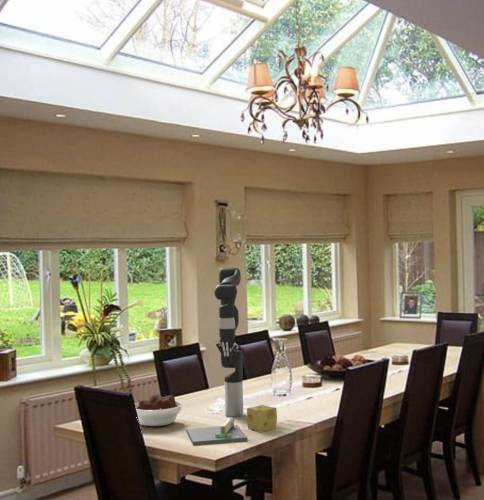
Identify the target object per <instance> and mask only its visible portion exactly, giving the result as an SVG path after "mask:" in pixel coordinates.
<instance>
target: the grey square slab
mask: <svg viewBox="0 0 484 500" xmlns="http://www.w3.org/2000/svg"><path fill="white" fill-rule="evenodd" d="M221 426H222V425H221ZM221 426H209V427H195V428H193V427H192V428H186V430H185V431H186V434H187V436H188V438H189V439H190V442H191V444H192V445H193V446H200V445H211V444H213V443H214V444H225V443H227V444H228V443H235V442H236V443H237V442H238V443H239V442H248V440H249V439H248V436H247V435H246V434H245V433H244V431H243V430H242V429H241V428H240V426H238V424H236V425H235V424H234V427H233V428H230V429H229V430H228V431H227V433H226V434H221ZM214 444H213V445H214Z"/></svg>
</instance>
